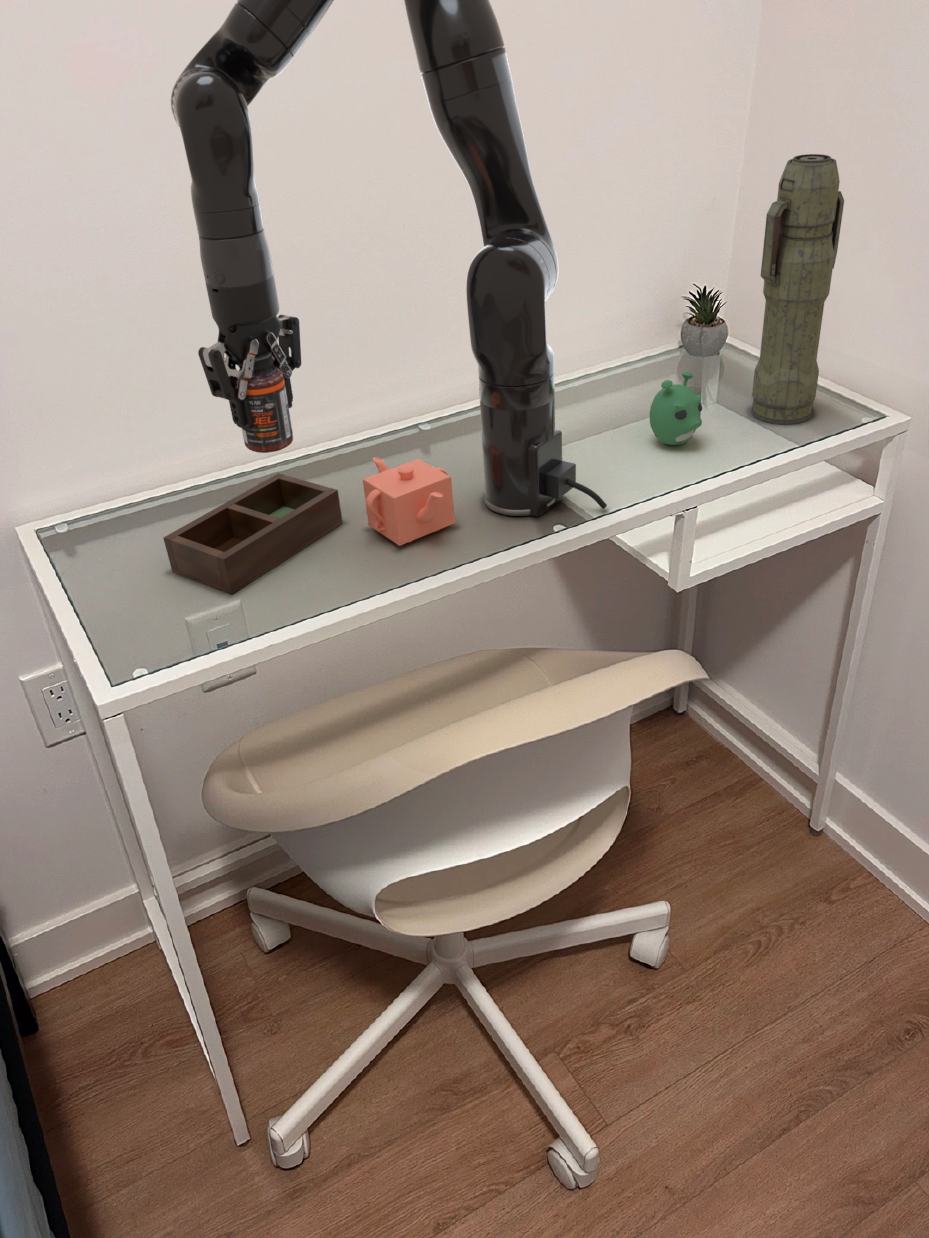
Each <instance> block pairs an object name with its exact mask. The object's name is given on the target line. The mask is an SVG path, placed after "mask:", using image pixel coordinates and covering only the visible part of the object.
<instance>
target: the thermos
mask: <svg viewBox="0 0 929 1238" xmlns="http://www.w3.org/2000/svg"><path fill="white" fill-rule="evenodd" d="M840 181H841V180H840V175H839V168H838V163H837V160H836V159H835V158H832V156H831V155H827V154H819V153H815V154H814V153H809V154H799V155H796V156H793V158H790V159H788V160H787V162H786V164H785V167H784V169H783V171H782V174H781V176H780V179H779V181H778V188H777V199H776V201H773V202H771V204H770V207H769V208H768V210H767V213H766V217H765V218H766V219H765V225H764V226H765V228H764V238H763V248H762V258H761V267H760V277H761V278H762V279H763V287H762V288H763V289H762V290H763V291H762V294H763V296H764V299H765V302H764V312H763V324H762V333H761V343H760V353H759V359H758V361H757V363H756V366H755V368H754V373H753V382H752V392H751V396H752V407H751V414H752V416H753V417H754V418H756V419H757V420H759V421H762V422H764V423H769V424H774V425H775V424H776V425H795V424H801V423H804V422H807V421H808V420H810V419H811V418H812V415H813V406H814V402H815V401H816V396H817V390H818V389H817V388H818V382H819V375H820V369H819V368H820V367H819V365H818V352H819V345H820V339H821V331H822V324H823V315H824V310H825V309H824V308H825V302H826V300H827V298H828V297H829V294H830V290H831V285H832V276H833V270H834V269H835V264H836V259H837V255H838V249H839V241H840V235H841V228H842V220H843V213H844V207H845V199H844V196H843V194H842V191H840V190H839V189H840V184H841V183H840Z"/></svg>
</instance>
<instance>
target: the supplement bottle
mask: <svg viewBox="0 0 929 1238" xmlns="http://www.w3.org/2000/svg"><path fill="white" fill-rule="evenodd" d="M237 367H238V368H239V369H238V370H239V371H241V370H242V368H243V367H241V366H238V365H237ZM237 382H238V378H237V379H236V385H235V387H236V388H237ZM246 398H248V399H249V405H250V410H251V415H252V420H253V427H251V428H249V429H244V428H241V434H242V439H243V443H244V446H245V447H246V449H248V450H249V451H251V452H254V453H258V454H259V453H261V454H266V453H267V454H269V453H274V452H280V451H281V450H283V449H285V448H288V447H289V446H290V445H291V444H292V443H293V441H294V436H293V435H294V433H293V427H292V421H291V414H290V408H289V407H288V401H287V394H286V388H285V382H284V376H283V373H282V371H281V370H280V369H279V368H277V367H275V366H274V365H273V358H272V353H271V352H268V353H265V354H263V355H261V356H258V357H256V358H255V362H254V369H253V375H252V379H251V380H249V381H248V387H247V394H246Z"/></svg>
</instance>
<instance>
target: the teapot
mask: <svg viewBox="0 0 929 1238" xmlns="http://www.w3.org/2000/svg"><path fill="white" fill-rule="evenodd" d="M372 461H373V462H374V464H375V466H376V468H377V471H378V473H375V474H372V475H370V476H367V477H364V478H363V479H362V485H363V493H364V503H365V508H366V517H367V521H368V523H367V524H368V526H369V527H370V528H371V529H374V530H375V531H376V532H378V533H380V534H381V535H382V536H384V537H386V538H387V539H388V540H390V541H392V543H394V544H396V545H398V546H399V547H400V546H402V545H405V544H407V543H412V542H414V541H415V540H417V539H420V538H422V537H425V536H428V535H429V534H432V533H436V532H438V531H440V530H442V529H444V528H446V527H449V526H451V525H454V524H456V522H455V521H456V520H455V508H454V497H453V496H454V495H453V482H452V476H450V475H449V473H448V472H447V471H446V470H445V469H444V468H442V467H440V466H435V467H434V466H432V465H431V464H428V463H427V462H425V461H423V460H421V459H420V458H417V459H414V460H411V461H408V462H406V463H403V464H399V465H397V466H394V467H392V468H388V465H386V463H385V461H384V460H383V459H381V458H380V457H378V456H375V457H373V458H372Z"/></svg>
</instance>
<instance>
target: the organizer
mask: <svg viewBox="0 0 929 1238" xmlns="http://www.w3.org/2000/svg"><path fill="white" fill-rule="evenodd" d="M340 502H341V501H340V496H339V489H336V488H333V487H328V486H326V485H322V484H318V483H315V482H311V481H307V480H304V479H301V478H297V477H293V476H290V475H288V474H287V475H286V474H284V473H280V472H278V473H276V474H274V475H272V476H271V477H269V478H267V479H265V480H263V481H262V482H260V483H258V484H257V485H254V486H253V487H251V488H249V489H248V490H245V491H244V492H242V493H240V494H239V495H237V496H235V497H232V498H231V499H229V500H228V501H226V502H223V503H222V504H220V505H219V506H216V507H214V509H212V510H210V511H208V512H206V513H205V514H203V515H201V516H199V517H197V518H195V519H194V520H192V521H190V522H188V523H187V524H185V525H183V526H181V527H180V528H178V529H176V530H174V531H173V532H171V533H168V534H167V535H164V536H163V537H162V538H163V542H164V546H165V550H166V553H167V557H168V561H169V565H170V569H171V572H172V573H173V574H177V575H180V576H182V577H185V578H187V579H189V580H193V581H194V582H195V581H196V582H198V583H200V584H203V585H205V586H208V587H210V588H213V589H215V590H219V591H221V592H223V593H226V594H229V595H234V594H235V593H238V591H240V590H241V589H244V588H245V587H246V586H248V585H249V584H252V583H253V582H254V581H256V580H257V579H258V578H260V577H262V576H263V575H265V574H266V573H268V572H269V571H271V570H273V569H274V568H276V567H277V566H279V565H281V564H282V563H283V562H285V561H286V560H288V559H289V558H291V557H293V556H294V555H296V554H297V553H299V552H301V551H302V550H304V549H305V548H307V547H308V546H310V545H311V544H313V543H314V542H316V541H318V540H319V539H321V538H322V537H324V536H326V535H327V534H329V533H330V532H332V531H334V530H335V529H336V528H338V527H339V526H341V525H342V524H343V523H344V522H343V516H342V515H343V514H342V509H341V503H340Z"/></svg>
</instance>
